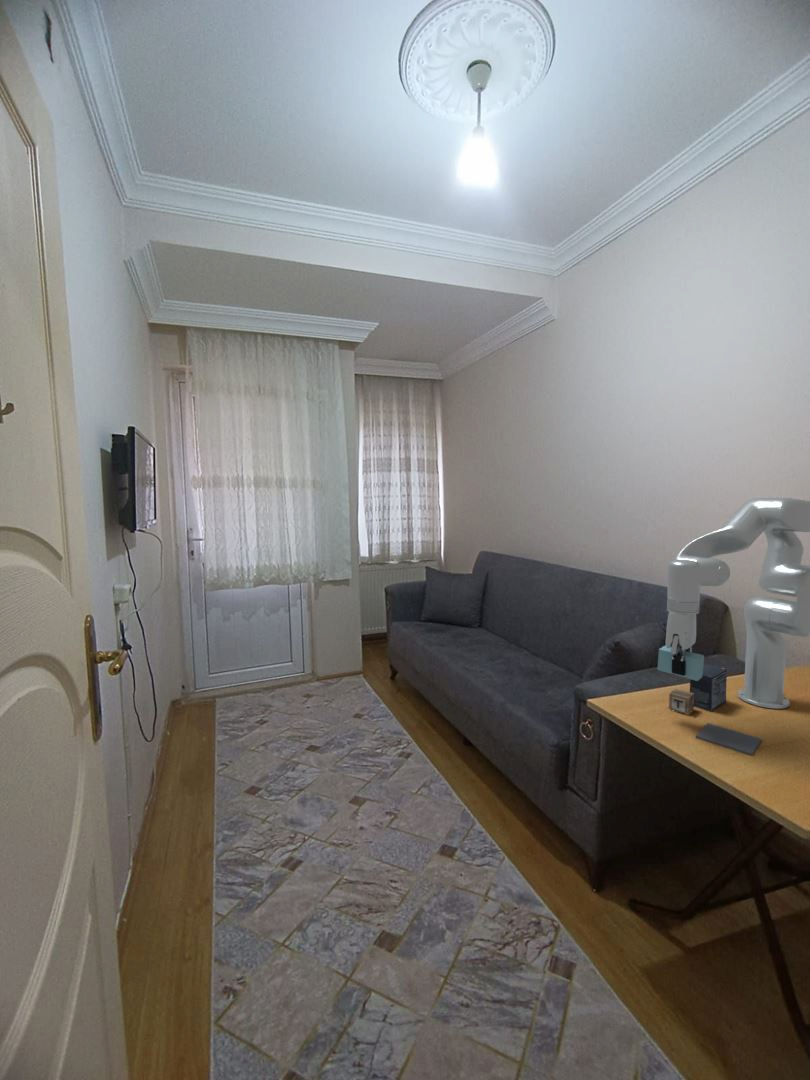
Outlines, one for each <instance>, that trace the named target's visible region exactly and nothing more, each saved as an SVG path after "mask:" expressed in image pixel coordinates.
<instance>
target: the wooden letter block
mask: <svg viewBox="0 0 810 1080" xmlns="http://www.w3.org/2000/svg"><path fill="white" fill-rule="evenodd" d="M668 695H669V696H668V697H669V698H668V699H669V700H668V710H669V709H671V710H670V711H672V710H674V711H673V712H675V711H677V712H676V713H679V712H680V713H679V714H682V713H684V714H683V715H685V714H687V715H686V716H689V715H690V714H691V713H692V712H693V711H694V710H695V706H694V693H691V692H690V691H686V690H684V689H683V690H682V689H679V688H674V689H673V690H672V691H670V692H669V694H668ZM693 709H694V710H693ZM692 710H693V711H692ZM691 711H692V712H691ZM690 712H691V713H690ZM689 713H690V714H689ZM688 714H689V715H688Z"/></svg>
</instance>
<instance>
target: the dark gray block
mask: <svg viewBox="0 0 810 1080" xmlns="http://www.w3.org/2000/svg"><path fill="white" fill-rule="evenodd" d="M695 738H696V739H700V740H702V741H705V742H708V743H712V744H714V745H718V746H721V747H724V748H728V749H731V750H733V751H737V752H739V753H744V754H746V755H748V756H753V755H754V753H755V752H756V751H757V749H758V747H759V745H760V744H761V742H762V738H760V737H758V736H753V735H750V734H746V733H743V732H741V731H736V730H733V729H730V728H727V727H723V726H719V725H716V724H712V723H709V722H707V723H706V724H705V725H704V726H703V727H702V729H700V731H698V732H697V734H696V735H695Z"/></svg>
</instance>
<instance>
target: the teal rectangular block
mask: <svg viewBox="0 0 810 1080" xmlns="http://www.w3.org/2000/svg"><path fill="white" fill-rule="evenodd" d="M671 648H672V646H671V647H669V648H667V647H666V645H663V646H662V647H660V648H659V649H658V655H657V656H658V658H657V668H656V670H657V671H659V672H664V673H667V674H671V675H675V676H677V677H682V678H685V679H688V680H690V679H692V680H695V681H698V680H699V679H701V678H702V676H703V665H704V662H705V655H704V654H700V653H695V652H693V651H692V652H688V651H685V658H684V661H686V672H685V675H684V676H683V675H679V674H674V673H672V654H671ZM678 652H679V653H680V654H681V651H678Z"/></svg>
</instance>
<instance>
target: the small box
mask: <svg viewBox="0 0 810 1080" xmlns="http://www.w3.org/2000/svg"><path fill="white" fill-rule="evenodd" d="M727 672H728V670H727V668H725V667H721V666H716V665H712V664H708V663H707V664H706V663H705V664H704V665H703V676H702V678H701V679H699V680H698V681H695V680H692V679H689V692H691V693H694V708H699V709H701V710H705V711H707V712H713V711H714V710H716V709H718V708H720V707H721V706H722V705H724V704H725V703H726V702H727V681H728V680H727V679H728V678H727V676H728V675H727V674H728V673H727Z"/></svg>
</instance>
